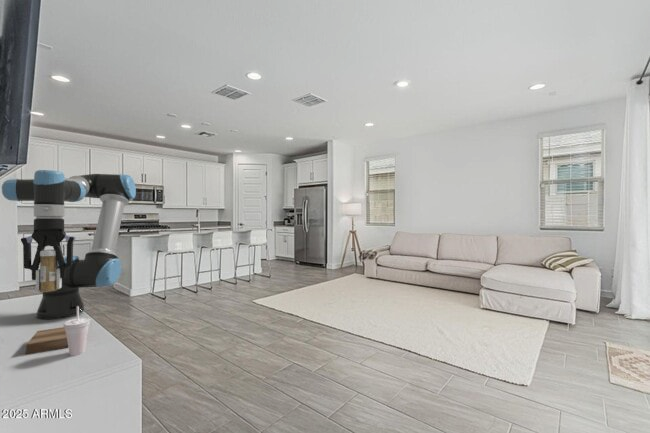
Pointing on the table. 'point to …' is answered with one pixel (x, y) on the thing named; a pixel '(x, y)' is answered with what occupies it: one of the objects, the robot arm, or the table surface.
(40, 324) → the table surface
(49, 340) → the walnut base
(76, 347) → the smoothie
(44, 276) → the sprinkles bottle
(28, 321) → the table surface
